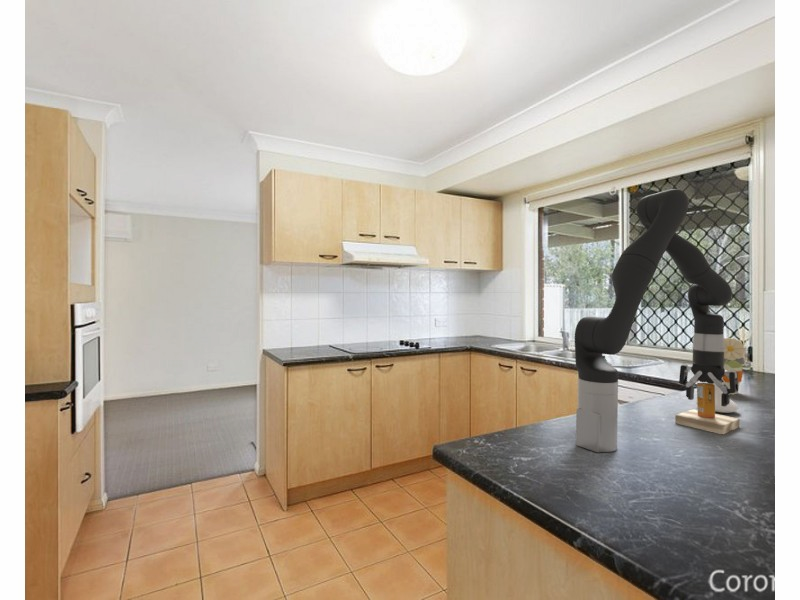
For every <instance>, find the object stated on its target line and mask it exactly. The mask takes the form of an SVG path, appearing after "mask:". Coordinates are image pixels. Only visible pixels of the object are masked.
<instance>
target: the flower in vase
mask: <svg viewBox="0 0 800 600" xmlns="http://www.w3.org/2000/svg"><path fill="white" fill-rule="evenodd" d="M724 346H725V350H724V358H725V359H727V361H728V360H736V359H740V358H743V357H744V356H745V354H746V352H747V347H745V345H744V344H743V342H742V341H741V340H739V339H736V338H731V337H727V338H725V337H724ZM727 361H726V362H725V363H724V365H725V364H726V363H727V364H728V365H729V366H730V367H731V368H740V367H742V368H743V367H744V365H743V366H742V365H741V364H740V363H738V362H737V361H729V362H727ZM725 371H726V370H725ZM722 378H723V377H722ZM713 384H714V385H715V413H723V414H724V413H727V414H728V413H731V414H732V413H735V412H736V413H737V411H739V406H738V405H737V403H736V402H734V401H733V400H732V399H730V403H729V404H728V405H727V406H725V407H724V406H721V396H722V393H723V392H722V391H721V390H720V388H719V387H717V386H716V384H715V383H713ZM695 404H696V405H697V401H696V402H695Z"/></svg>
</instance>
